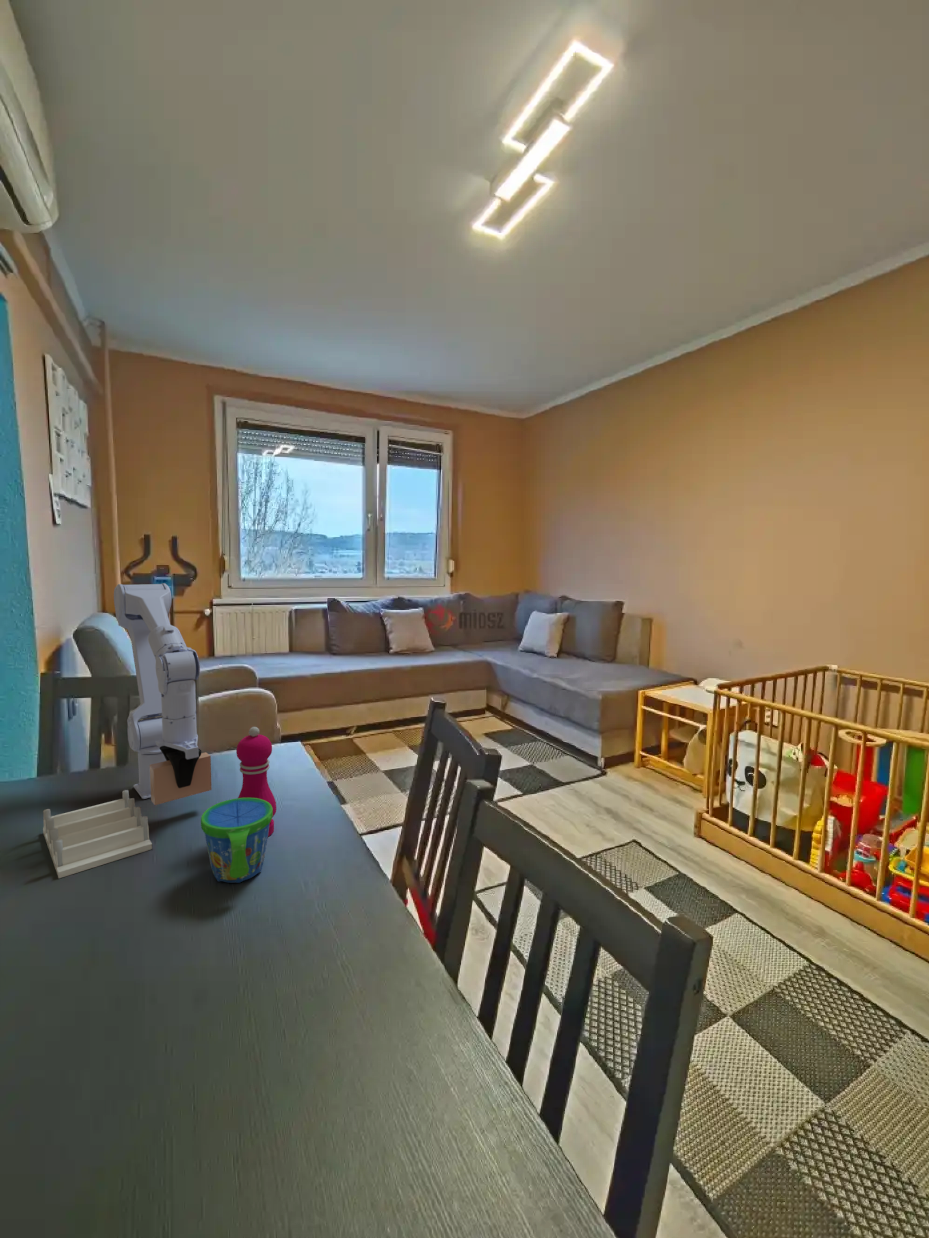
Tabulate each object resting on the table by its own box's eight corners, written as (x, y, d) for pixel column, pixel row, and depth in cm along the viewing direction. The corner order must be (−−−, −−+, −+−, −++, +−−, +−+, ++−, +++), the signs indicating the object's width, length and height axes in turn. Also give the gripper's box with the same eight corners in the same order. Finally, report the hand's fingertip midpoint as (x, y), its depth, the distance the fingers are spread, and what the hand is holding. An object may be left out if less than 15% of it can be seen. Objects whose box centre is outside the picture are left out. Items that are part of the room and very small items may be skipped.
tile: (207, 785, 109) (206, 752, 108) (211, 789, 107) (210, 755, 106) (151, 800, 102) (149, 764, 101) (154, 805, 100) (153, 768, 99)
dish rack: (126, 810, 106) (125, 786, 106) (152, 848, 94) (151, 821, 93) (43, 833, 98) (41, 806, 97) (58, 878, 85) (56, 848, 84)
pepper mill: (283, 824, 103) (282, 722, 101) (265, 844, 96) (264, 735, 93) (246, 821, 104) (244, 719, 101) (226, 841, 97) (223, 732, 94)
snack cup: (271, 895, 82) (270, 831, 81) (194, 907, 79) (192, 841, 78) (275, 842, 97) (274, 787, 96) (210, 850, 94) (208, 793, 92)
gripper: (145, 709, 105) (147, 776, 107) (167, 728, 95) (170, 803, 96) (184, 703, 110) (186, 767, 112) (209, 721, 100) (211, 791, 101)
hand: (181, 783), depth 104 cm, fingers closed on tile, 2 cm apart
